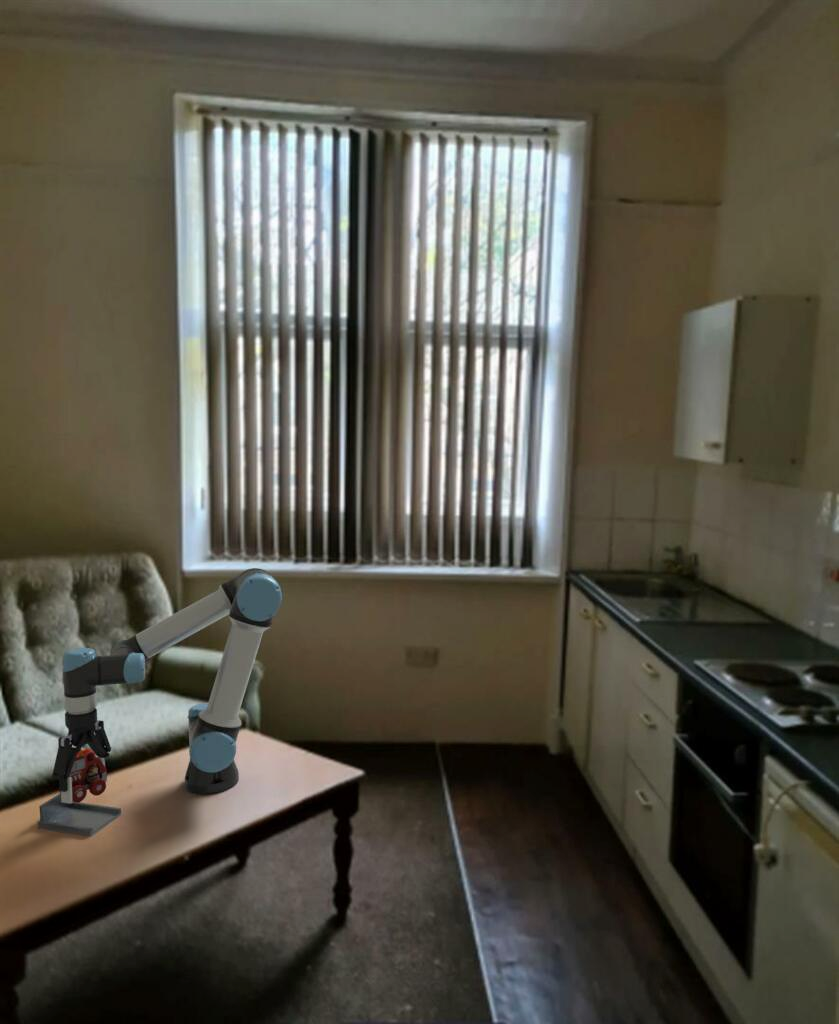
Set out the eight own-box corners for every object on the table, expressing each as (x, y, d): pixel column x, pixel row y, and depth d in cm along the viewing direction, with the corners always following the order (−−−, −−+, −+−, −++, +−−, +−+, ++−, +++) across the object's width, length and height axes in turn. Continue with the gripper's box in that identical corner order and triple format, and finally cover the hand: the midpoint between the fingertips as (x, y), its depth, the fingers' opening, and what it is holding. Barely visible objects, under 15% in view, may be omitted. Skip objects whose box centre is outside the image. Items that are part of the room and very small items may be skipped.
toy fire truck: (113, 790, 196) (112, 751, 195) (66, 807, 187) (64, 767, 186) (100, 783, 200) (98, 745, 200) (53, 799, 191) (51, 760, 190)
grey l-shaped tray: (121, 814, 198) (120, 794, 198) (90, 836, 187) (89, 815, 187) (70, 807, 203) (69, 787, 202) (38, 828, 192) (36, 807, 191)
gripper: (100, 693, 204) (103, 771, 206) (33, 724, 181) (36, 811, 183) (123, 696, 202) (126, 774, 204) (58, 727, 179) (62, 815, 181)
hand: (84, 791), depth 194 cm, fingers closed on toy fire truck, 11 cm apart
